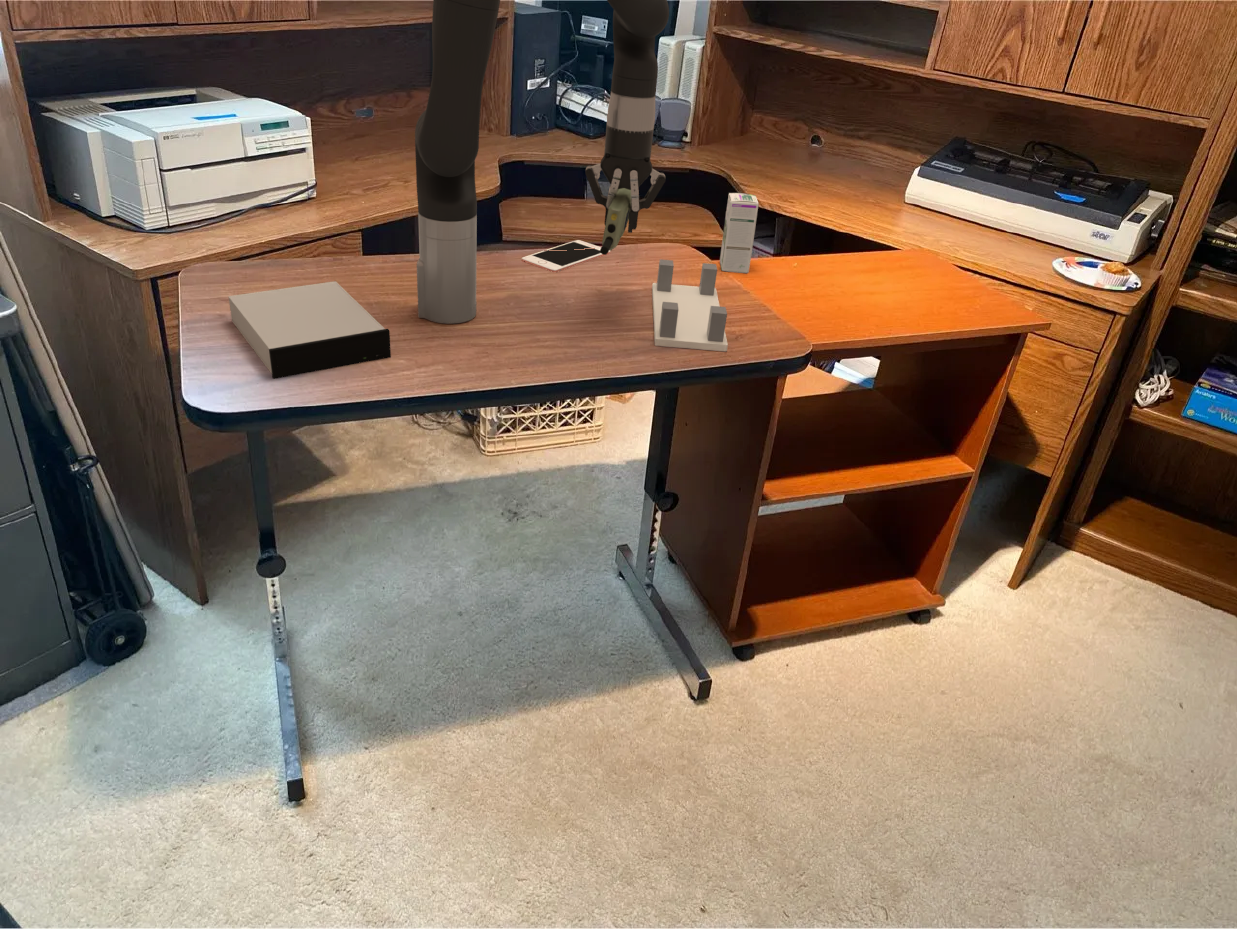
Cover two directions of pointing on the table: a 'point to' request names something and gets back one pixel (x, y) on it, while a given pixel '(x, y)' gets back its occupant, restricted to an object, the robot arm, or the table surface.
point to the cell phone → (564, 256)
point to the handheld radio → (616, 220)
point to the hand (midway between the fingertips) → (620, 229)
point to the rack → (688, 311)
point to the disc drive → (308, 328)
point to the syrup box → (738, 232)
